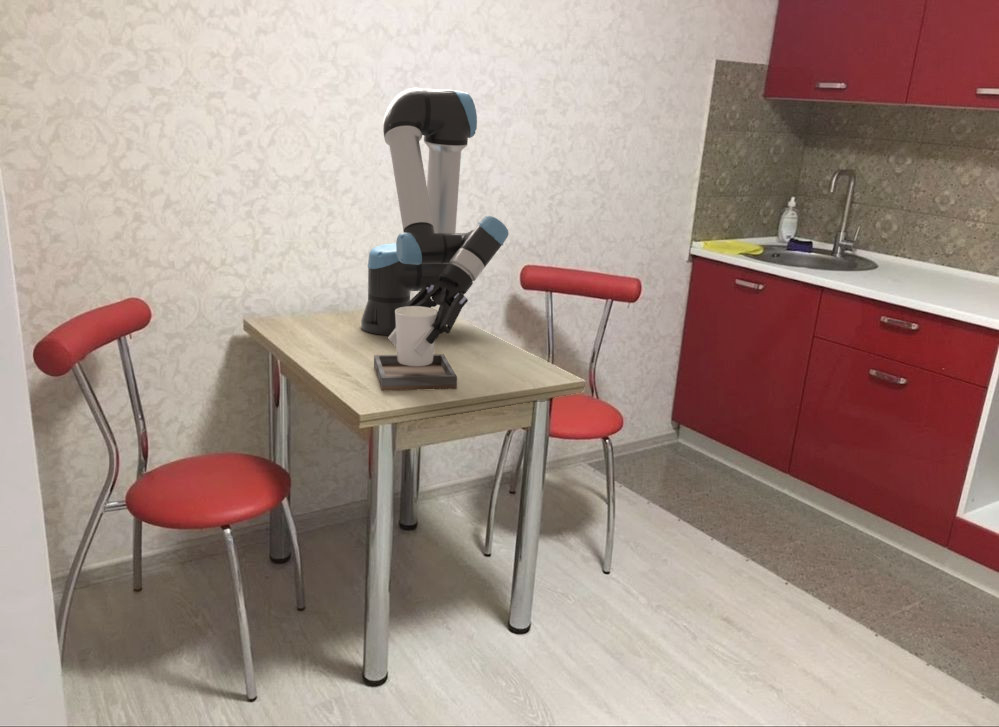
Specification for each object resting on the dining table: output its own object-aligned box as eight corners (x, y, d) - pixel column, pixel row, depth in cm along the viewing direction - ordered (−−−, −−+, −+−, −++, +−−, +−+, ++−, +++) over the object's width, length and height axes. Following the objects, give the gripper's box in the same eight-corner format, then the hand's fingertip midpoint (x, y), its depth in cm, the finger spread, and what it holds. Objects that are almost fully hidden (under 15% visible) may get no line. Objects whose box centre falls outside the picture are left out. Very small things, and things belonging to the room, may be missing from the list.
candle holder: (397, 368, 193) (398, 316, 190) (390, 355, 202) (391, 306, 199) (440, 366, 196) (441, 316, 192) (431, 354, 205) (433, 305, 201)
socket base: (373, 366, 206) (374, 355, 206) (443, 365, 211) (443, 354, 210) (381, 390, 191) (381, 378, 190) (456, 388, 195) (457, 376, 194)
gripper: (499, 291, 196) (442, 368, 191) (440, 274, 212) (386, 344, 206) (483, 271, 191) (424, 349, 186) (424, 254, 207) (368, 326, 201)
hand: (404, 347), depth 196 cm, fingers closed on candle holder, 9 cm apart
